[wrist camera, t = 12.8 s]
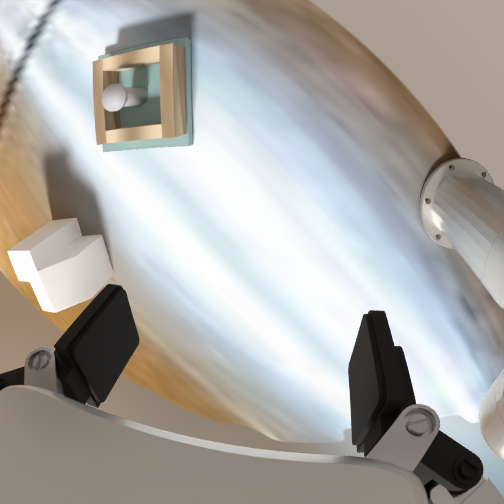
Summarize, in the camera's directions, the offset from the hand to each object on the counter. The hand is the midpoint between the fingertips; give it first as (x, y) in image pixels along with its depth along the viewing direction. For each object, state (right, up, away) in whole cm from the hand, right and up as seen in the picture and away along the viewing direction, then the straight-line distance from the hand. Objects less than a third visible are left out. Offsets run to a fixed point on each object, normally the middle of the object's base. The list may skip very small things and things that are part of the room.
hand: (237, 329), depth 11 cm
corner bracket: (-29, +4, +36) cm, 46 cm away
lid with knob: (-13, +23, +23) cm, 35 cm away
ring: (-13, +22, +21) cm, 33 cm away
